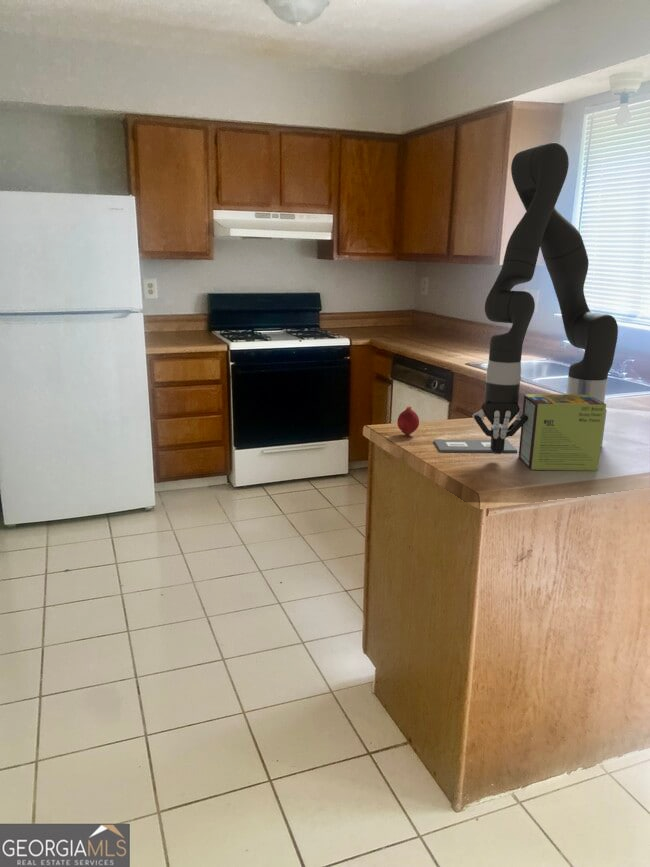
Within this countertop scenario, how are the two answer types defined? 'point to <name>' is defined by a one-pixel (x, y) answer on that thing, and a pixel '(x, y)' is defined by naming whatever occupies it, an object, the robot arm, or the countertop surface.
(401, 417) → the onion
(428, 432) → the countertop surface
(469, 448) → the label panel
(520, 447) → the protein box
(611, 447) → the countertop surface
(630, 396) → the countertop surface
